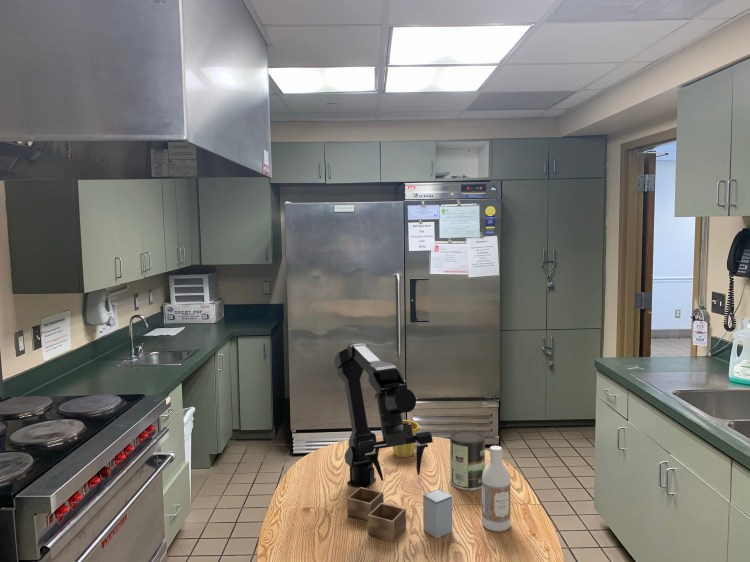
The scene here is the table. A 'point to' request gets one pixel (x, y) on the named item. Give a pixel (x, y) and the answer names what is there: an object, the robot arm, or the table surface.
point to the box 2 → (387, 522)
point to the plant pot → (406, 449)
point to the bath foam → (496, 493)
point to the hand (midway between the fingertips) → (400, 477)
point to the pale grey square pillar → (437, 513)
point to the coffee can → (467, 459)
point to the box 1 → (363, 503)
